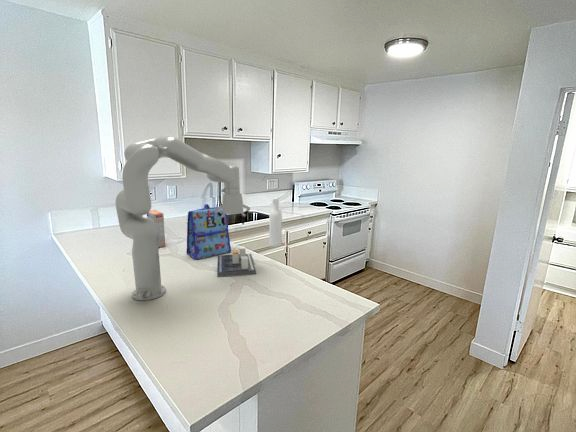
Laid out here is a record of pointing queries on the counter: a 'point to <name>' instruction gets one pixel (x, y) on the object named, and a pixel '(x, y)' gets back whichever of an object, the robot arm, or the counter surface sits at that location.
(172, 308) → the counter surface
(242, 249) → the block
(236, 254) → the block
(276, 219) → the bottle
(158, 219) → the cracker box
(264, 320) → the counter surface
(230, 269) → the panel
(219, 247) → the lunch bag
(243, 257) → the block
